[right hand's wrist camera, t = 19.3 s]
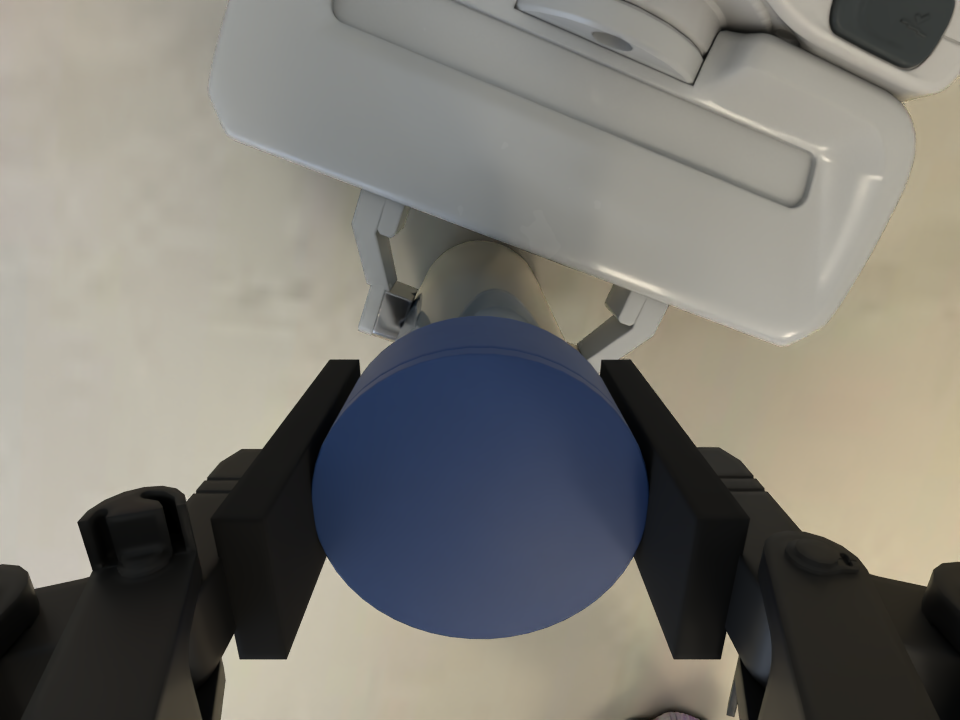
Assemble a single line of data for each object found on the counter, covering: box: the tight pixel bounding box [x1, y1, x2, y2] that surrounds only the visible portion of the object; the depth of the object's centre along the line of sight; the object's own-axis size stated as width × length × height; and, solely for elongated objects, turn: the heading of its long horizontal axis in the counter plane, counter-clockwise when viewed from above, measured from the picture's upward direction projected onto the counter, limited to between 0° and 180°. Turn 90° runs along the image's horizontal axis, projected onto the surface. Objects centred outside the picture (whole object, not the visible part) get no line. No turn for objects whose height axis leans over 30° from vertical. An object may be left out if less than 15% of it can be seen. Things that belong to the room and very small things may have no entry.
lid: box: [311, 316, 649, 639], centre depth 11 cm, size 6×6×2 cm
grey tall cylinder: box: [395, 241, 566, 342], centre depth 18 cm, size 6×6×16 cm
